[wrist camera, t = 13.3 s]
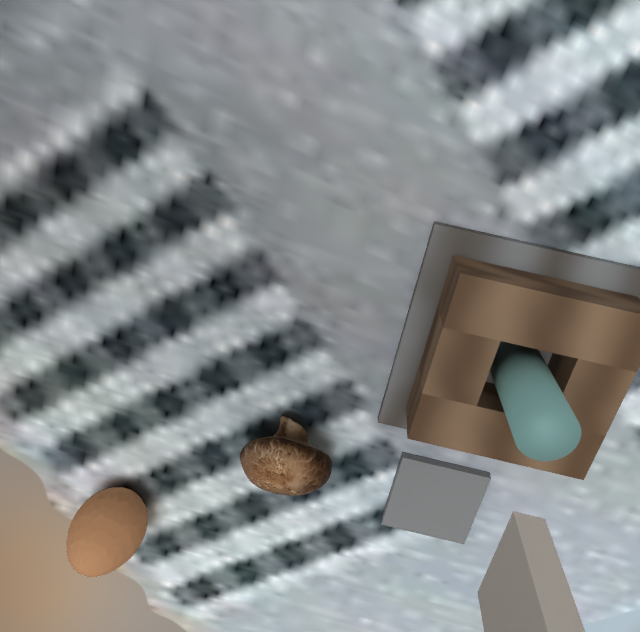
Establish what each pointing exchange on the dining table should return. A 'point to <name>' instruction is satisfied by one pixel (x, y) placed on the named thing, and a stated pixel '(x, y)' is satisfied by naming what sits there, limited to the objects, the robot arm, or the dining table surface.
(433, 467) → the pad
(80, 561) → the egg
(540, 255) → the socket
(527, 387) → the peg
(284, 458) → the mushroom
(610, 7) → the dining table surface
